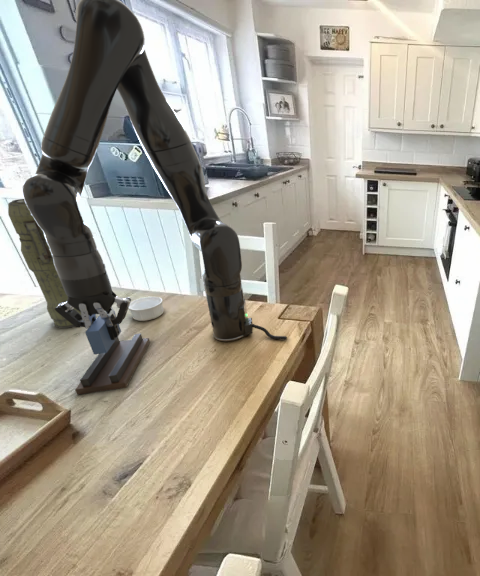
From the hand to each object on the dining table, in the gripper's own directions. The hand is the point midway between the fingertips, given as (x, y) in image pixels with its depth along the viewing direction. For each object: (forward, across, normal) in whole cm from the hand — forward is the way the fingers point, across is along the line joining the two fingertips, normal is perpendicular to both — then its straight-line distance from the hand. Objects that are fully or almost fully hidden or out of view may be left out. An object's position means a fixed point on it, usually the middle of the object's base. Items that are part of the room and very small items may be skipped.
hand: (107, 338), depth 76 cm
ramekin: (+8, 0, +25) cm, 26 cm away
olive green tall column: (+8, -19, +26) cm, 33 cm away
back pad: (+1, 0, 0) cm, 1 cm away
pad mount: (+8, 0, 0) cm, 8 cm away
